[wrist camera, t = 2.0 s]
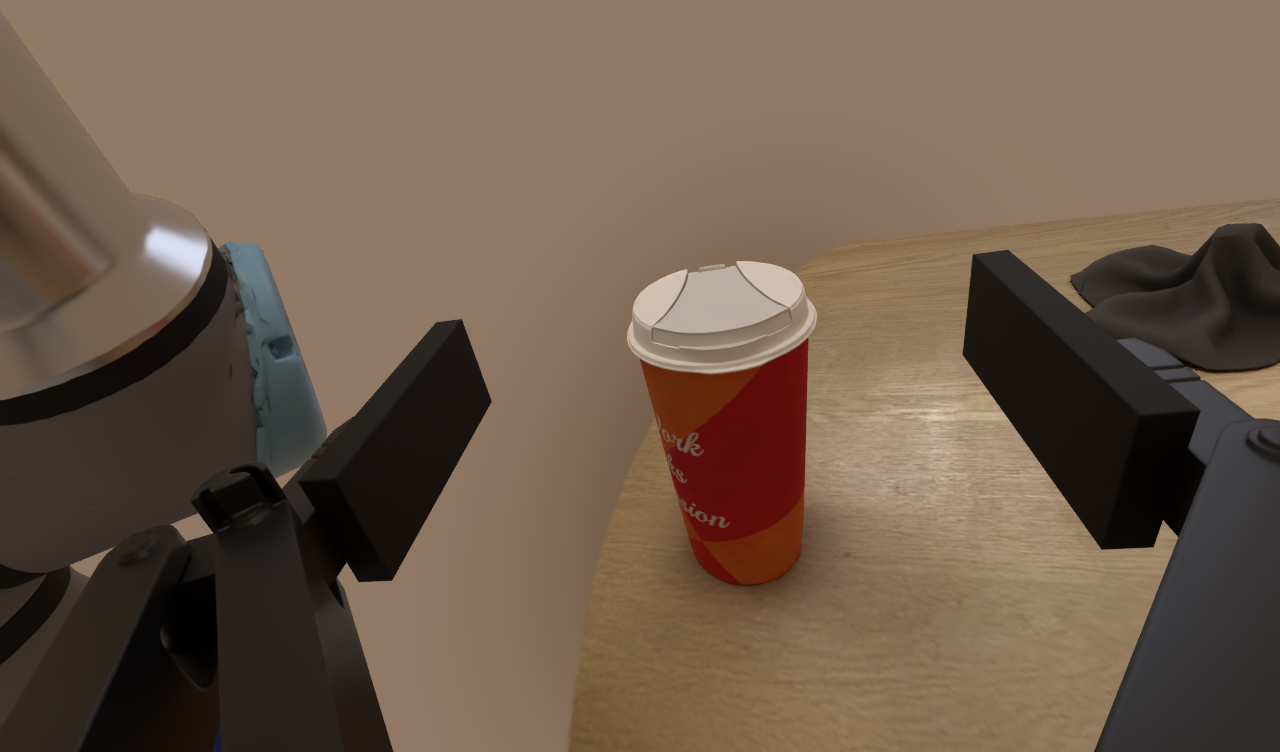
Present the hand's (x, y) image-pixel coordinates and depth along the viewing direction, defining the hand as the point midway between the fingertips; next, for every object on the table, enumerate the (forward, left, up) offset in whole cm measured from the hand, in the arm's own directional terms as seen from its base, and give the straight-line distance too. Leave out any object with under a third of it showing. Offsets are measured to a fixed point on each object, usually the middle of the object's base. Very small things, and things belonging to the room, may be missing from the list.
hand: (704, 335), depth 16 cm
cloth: (+36, +30, -18) cm, 50 cm away
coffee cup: (0, +10, -18) cm, 21 cm away
